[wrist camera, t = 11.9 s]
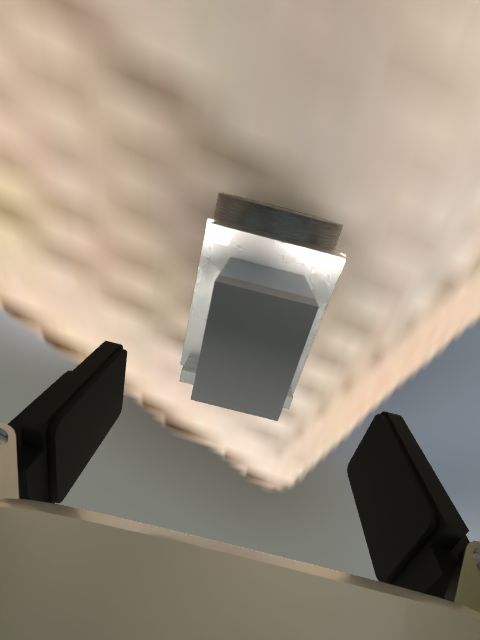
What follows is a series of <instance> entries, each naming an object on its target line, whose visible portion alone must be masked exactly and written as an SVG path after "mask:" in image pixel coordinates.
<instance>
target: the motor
mask: <svg viewBox="0 0 480 640" xmlns="http://www.w3.org/2000/svg"><path fill="white" fill-rule="evenodd" d="M342 227H343V225H341V224H338V223H335V222H332V221H329V220H325V219H322V218H318V217H314V216H311V215H307V214H304V213H300V212H296V211H293V210H289V209H285V208H281V207H277V206H274V205H270V204H266V203H262V202H258V201H254V200H250V199H246V198H242V197H238V196H234V195H229V194H225V193H219V194H218V199H217V204H216V209H215V215H214V218H211V217H210V218H208V219H207V225H206V230H205V236H204V241H203V246H202V252H201V257H200V262H199V268H198V273H197V278H196V284H195V289H194V294H193V300H192V305H191V311H190V316H189V321H188V327H187V332H186V337H185V343H184V348H183V353H182V359H181V364H180V365H183V368H182V371H181V376H180V381H181V382H185V383H188V384H192V385H194V381H195V376H196V371H197V366H198V361H199V356H200V351H201V346H202V341H203V336H204V331H205V326H206V321H207V316H208V312H209V307H210V302H211V297H212V292H213V287H214V282H215V280H216V278H217V277H218V275H219V273H220V272H221V270H222V269H223V267H224V266H225V264H226V263H227V261H228V260H229V258H230V257H232V258H236V259H240V260H244V261H248V262H252V263H256V264H260V265H264V266H268V267H272V268H276V269H280V270H284V271H288V272H292V273H296V274H300V275H304V276H305V278H306V280H307V282H308V284H309V287H310V289H311V291H312V293H313V295H314V297H315V300H316V302H317V304H318V306H319V308H318V311H317V314H316V316H315V319H314V322H313V325H312V327H311V330H310V333H309V336H308V338H307V341H306V344H305V347H304V350H303V352H302V355H301V358H300V361H299V363H298V366H297V369H296V372H295V375H294V377H293V380H292V383H291V386H290V388H289V391H288V394H287V397H286V399H285V402H284V405H283V408H286V409H289V407H290V404H291V402H292V399H293V394H292V393H294V391H295V388H296V385H297V383H298V380H299V378H300V375H301V372H302V370H303V367H304V365H305V362H306V359H307V357H308V354H309V352H310V349H311V346H312V344H313V341H314V339H315V336H316V333H317V331H318V328H319V325H320V323H321V320H322V318H323V315H324V312H325V310H326V307H327V305H328V302H329V299H330V297H331V294H332V292H333V289H334V286H335V284H336V281H337V279H338V276H339V275H341V272H342V270H343V267H344V265H345V262H346V254H345V253H344V252H341V251H337V250H334V249H335V246H336V244H337V241H338V238H339V235H340V233H341V230H342Z"/></svg>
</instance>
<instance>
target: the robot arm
mask: <svg viewBox="0 0 480 640" xmlns="http://www.w3.org/2000/svg"><path fill="white" fill-rule="evenodd" d="M126 359H127V351H126V350H124V349H123V346H122V345H121V344H117V343H113V342H109V341H105V342H104V343H102V344H101V345H100V346H99V347H98V348H97V349H96V350H95V351H94V352H93V353H92V354H90V355H89V356H88V357H87V358H86V359H85V360H84V361H83V362H82V363H81V364H80V365H78V366H77V367H76V368H75V369H74V370H73V371H67V372H66V373H65V374H63V375H62V376H61V377H60V378H59V379H58V380H57V381H56V382H54V383H53V384H52V385H51V386H50V387H49V388H48V389H47V390H46V391H44V392H43V393H42V394H41V395H40V396H39V397H38V398H36V399H35V400H34V401H33V402H32V403H31V404H30V405H29V406H28V407H26V408H25V409H24V410H23V411H22V412H21V413H20V414H19V415H18V416H16V417H15V418H14V419H13V420H12V421H11V422H10V423H9V424H4V423H0V640H480V542H478V541H473V542H469V540H468V538H467V536H466V534H467V532H468V531H469V530H468V528H467V527H466V525H465V523H464V521H463V520H462V518H461V516H460V515H459V513H458V511H457V510H456V508H455V506H454V505H453V503H452V501H451V500H450V498H449V496H448V494H447V493H446V491H445V489H444V487H443V486H442V484H441V483H440V481H439V479H438V477H437V476H436V474H435V472H434V471H433V469H432V467H431V466H430V464H429V462H428V461H427V459H426V457H425V455H424V453H423V452H422V450H421V449H420V447H419V445H418V443H417V442H416V440H415V438H414V437H413V435H412V433H411V432H410V430H409V428H408V426H407V425H406V423H405V421H404V420H403V418H402V417H401V416H400V415H397V414H393V413H388V412H382V413H381V414H377V415H376V416H375V417H374V419H373V421H372V423H371V424H370V426H369V428H368V430H367V432H366V434H365V435H364V437H363V439H362V441H361V443H360V444H359V446H358V448H357V449H356V451H355V453H354V455H353V457H352V458H351V460H350V462H349V464H348V468H347V473H348V477H349V481H350V485H351V488H352V492H353V495H354V499H355V502H356V506H357V509H358V513H359V517H360V520H361V524H362V528H363V531H364V535H365V539H366V542H367V546H368V549H369V553H370V556H371V560H372V564H373V567H374V571H375V574H376V577H377V579H378V581H375V580H371V579H367V578H363V577H360V576H355V575H352V574H348V573H343V572H340V571H336V570H332V569H328V568H324V567H320V566H316V565H312V564H308V563H304V562H300V561H295V560H291V559H288V558H284V557H280V556H276V555H271V554H267V553H263V552H259V551H255V550H251V549H247V548H243V547H239V546H234V545H230V544H227V543H222V542H218V541H214V540H210V539H206V538H202V537H198V536H193V535H190V534H185V533H181V532H177V531H172V530H169V529H164V528H160V527H156V526H152V525H148V524H144V523H139V522H135V521H131V520H127V519H123V518H118V517H114V516H109V515H105V514H100V513H95V512H91V511H87V510H82V509H78V508H73V507H68V506H64V505H59V504H55V503H60V502H62V501H63V499H64V498H65V497H66V495H67V493H68V492H69V490H70V489H71V487H72V486H73V484H74V483H75V482H76V480H77V478H78V477H79V475H80V474H81V472H82V471H83V469H84V468H85V466H86V465H87V463H88V462H89V460H90V459H91V457H92V456H93V454H94V453H95V451H96V450H97V448H98V447H99V445H100V444H101V442H102V441H103V439H104V438H105V436H106V435H107V433H108V432H109V430H110V429H111V427H112V426H113V424H114V423H115V421H116V420H117V418H118V417H119V415H120V413H121V409H122V403H123V392H124V381H125V370H126Z"/></svg>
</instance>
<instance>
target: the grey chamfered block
mask: <svg viewBox="0 0 480 640" xmlns="http://www.w3.org/2000/svg"><path fill="white" fill-rule="evenodd" d="M318 308H319V306H318V304H317V302H316V300H315V297H314V295H313V293H312V291H311V289H310V287H309V284H308V282H307V280H306V278H305V276H304V275H300V274H296V273H292V272H288V271H284V270H280V269H276V268H272V267H268V266H264V265H260V264H256V263H252V262H248V261H244V260H240V259H236V258H232V257H230V258H229V260H228V261H227V263H226V264H225V266H224V267H223V269H222V270H221V272H220V273H219V275H218V277H217V278H216V280H215V282H214V287H213V292H212V297H211V302H210V307H209V312H208V316H207V321H206V326H205V331H204V336H203V341H202V346H201V351H200V356H199V361H198V366H197V371H196V376H195V381H194V386H193V391H192V396H191V400H195V401H199V402H203V403H207V404H211V405H215V406H219V407H223V408H227V409H231V410H235V411H239V412H243V413H247V414H251V415H255V416H259V417H264V418H268V419H272V420H276V421H278V419H279V416H280V413H281V411H282V408H283V405H284V402H285V399H286V397H287V394H288V391H289V388H290V386H291V383H292V380H293V377H294V375H295V372H296V369H297V366H298V363H299V361H300V358H301V355H302V352H303V350H304V347H305V344H306V341H307V338H308V336H309V333H310V330H311V327H312V325H313V322H314V319H315V316H316V314H317V311H318Z"/></svg>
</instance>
